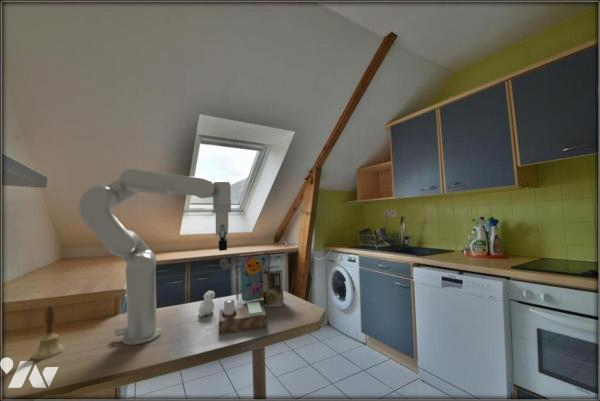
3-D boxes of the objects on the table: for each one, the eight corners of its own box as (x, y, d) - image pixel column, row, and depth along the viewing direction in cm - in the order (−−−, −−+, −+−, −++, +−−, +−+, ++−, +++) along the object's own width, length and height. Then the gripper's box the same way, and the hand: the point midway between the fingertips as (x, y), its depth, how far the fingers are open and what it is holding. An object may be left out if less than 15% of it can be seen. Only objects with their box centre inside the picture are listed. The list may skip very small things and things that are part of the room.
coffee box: (284, 302, 132) (283, 269, 133) (281, 307, 126) (280, 273, 126) (266, 302, 133) (265, 270, 134) (263, 307, 127) (262, 273, 127)
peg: (224, 329, 104) (224, 303, 104) (224, 325, 108) (224, 300, 108) (235, 327, 105) (234, 302, 105) (234, 323, 109) (234, 299, 109)
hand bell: (69, 344, 96) (69, 300, 96) (58, 356, 88) (58, 307, 89) (39, 350, 93) (39, 304, 93) (26, 362, 85) (26, 312, 86)
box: (221, 310, 125) (220, 258, 125) (219, 306, 130) (218, 256, 131) (272, 300, 135) (270, 252, 136) (268, 297, 141) (266, 251, 142)
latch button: (249, 328, 103) (249, 313, 103) (247, 316, 114) (247, 303, 114) (262, 326, 104) (262, 311, 104) (259, 314, 116) (258, 301, 116)
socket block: (219, 334, 100) (218, 321, 100) (219, 321, 111) (219, 309, 111) (266, 327, 104) (266, 314, 105) (262, 315, 116) (262, 304, 116)
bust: (204, 323, 115) (220, 301, 117) (190, 314, 114) (206, 292, 116) (209, 313, 127) (224, 293, 128) (196, 304, 126) (211, 284, 128)
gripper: (214, 209, 123) (215, 246, 122) (212, 209, 106) (213, 252, 105) (230, 209, 125) (231, 245, 124) (231, 208, 108) (232, 251, 107)
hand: (223, 248), depth 115 cm, fingers open, 9 cm apart
